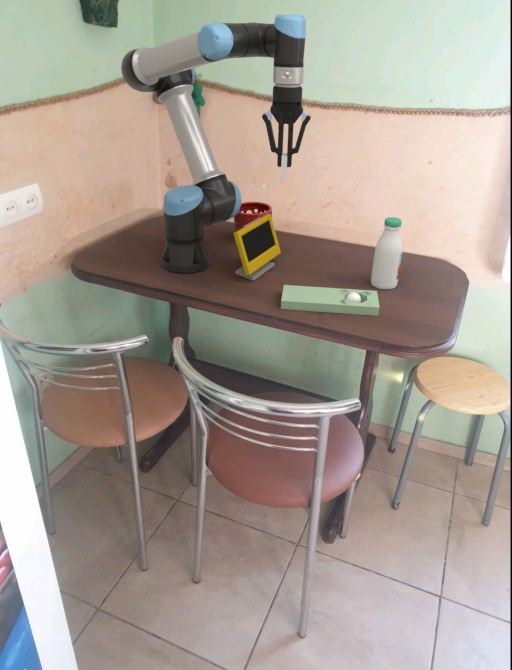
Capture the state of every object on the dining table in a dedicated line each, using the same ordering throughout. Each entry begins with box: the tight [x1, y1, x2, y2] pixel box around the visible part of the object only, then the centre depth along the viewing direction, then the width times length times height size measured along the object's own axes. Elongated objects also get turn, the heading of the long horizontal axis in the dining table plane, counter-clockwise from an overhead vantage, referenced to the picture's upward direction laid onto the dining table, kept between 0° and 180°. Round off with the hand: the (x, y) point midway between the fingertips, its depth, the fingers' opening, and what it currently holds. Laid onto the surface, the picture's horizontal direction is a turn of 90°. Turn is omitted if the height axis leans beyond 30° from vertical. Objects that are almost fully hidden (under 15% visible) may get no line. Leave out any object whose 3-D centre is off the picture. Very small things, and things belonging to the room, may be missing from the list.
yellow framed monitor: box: [233, 214, 281, 282], centre depth 164 cm, size 20×8×16 cm, turn 151°
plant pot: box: [233, 201, 273, 232], centre depth 187 cm, size 13×13×12 cm
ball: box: [346, 292, 362, 303], centre depth 147 cm, size 4×4×4 cm
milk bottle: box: [370, 216, 404, 291], centre depth 155 cm, size 8×8×20 cm
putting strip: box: [280, 284, 381, 317], centre depth 148 cm, size 26×10×2 cm, turn 83°
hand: (283, 178), depth 149 cm, fingers closed
